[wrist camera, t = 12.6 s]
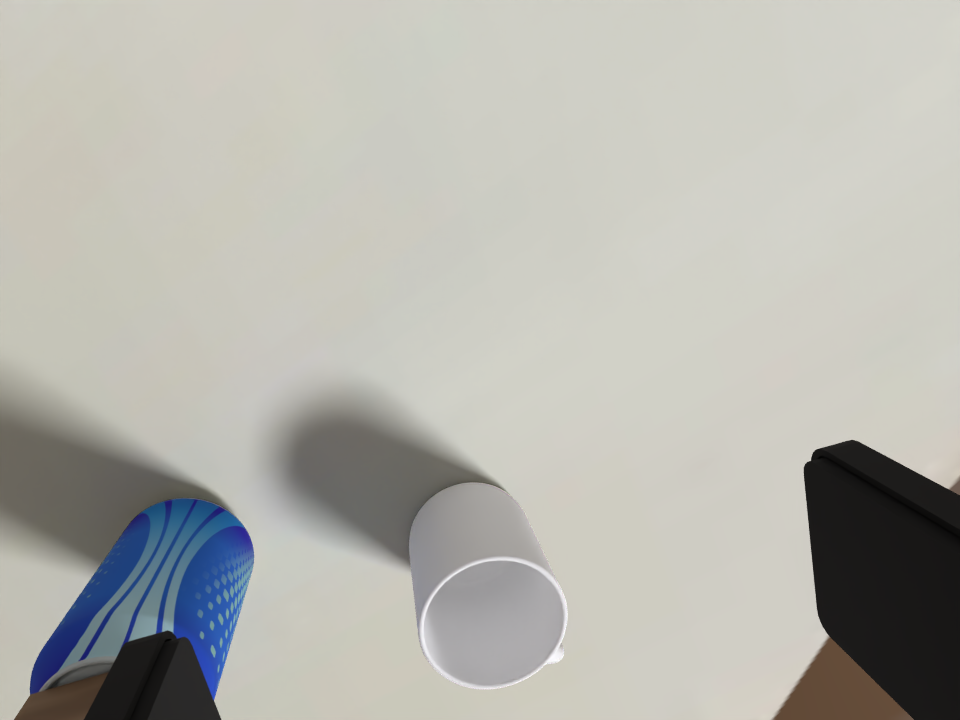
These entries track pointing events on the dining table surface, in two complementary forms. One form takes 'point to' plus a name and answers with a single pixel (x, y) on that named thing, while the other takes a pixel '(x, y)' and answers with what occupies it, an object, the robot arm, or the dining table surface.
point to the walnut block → (63, 701)
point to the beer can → (156, 593)
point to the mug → (483, 589)
